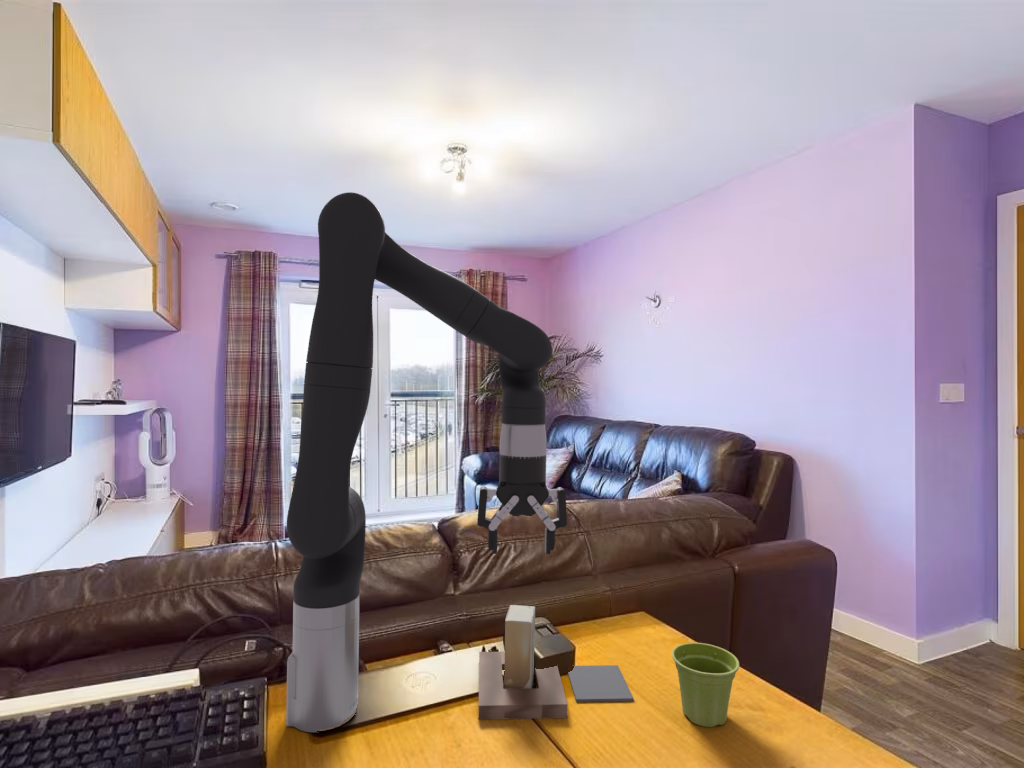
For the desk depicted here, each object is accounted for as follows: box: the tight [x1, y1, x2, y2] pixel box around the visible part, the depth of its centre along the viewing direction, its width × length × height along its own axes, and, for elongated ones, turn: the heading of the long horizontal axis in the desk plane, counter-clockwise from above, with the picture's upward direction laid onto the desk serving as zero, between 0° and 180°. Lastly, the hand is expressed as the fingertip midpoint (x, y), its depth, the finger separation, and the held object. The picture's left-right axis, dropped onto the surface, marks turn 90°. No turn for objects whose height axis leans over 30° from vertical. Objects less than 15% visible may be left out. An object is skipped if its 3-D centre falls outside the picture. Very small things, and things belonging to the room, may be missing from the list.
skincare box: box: [503, 604, 536, 689], centre depth 87 cm, size 6×4×12 cm
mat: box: [567, 664, 635, 703], centre depth 89 cm, size 9×10×1 cm
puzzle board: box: [478, 651, 568, 720], centre depth 87 cm, size 13×16×2 cm
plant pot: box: [671, 642, 740, 728], centre depth 81 cm, size 9×9×9 cm
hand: (521, 552), depth 87 cm, fingers open, 8 cm apart
